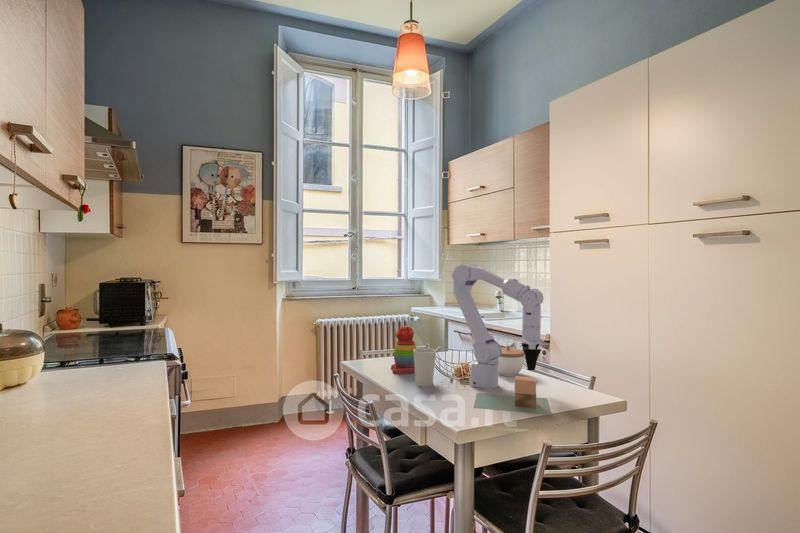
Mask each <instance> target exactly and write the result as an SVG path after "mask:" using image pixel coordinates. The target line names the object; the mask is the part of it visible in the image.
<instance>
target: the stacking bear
mask: <svg viewBox="0 0 800 533" xmlns="http://www.w3.org/2000/svg"><path fill="white" fill-rule="evenodd" d="M414 336H415V332H414V329H413V327H411V326H407V325H403V326H401V327H399V329H397V331H396V332H395V337H396V339H397V341H396V343H395V346H394V351H393V360H394V363H393V364H391V367H390V369H391V370H392V373H393V374H396V375H406V374H412V373H414V374H415V366H414V351H413V350H414V349H418V347H417V344H416V343H415V341H414V340H413V339H414Z"/></svg>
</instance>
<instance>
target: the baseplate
mask: <svg viewBox="0 0 800 533" xmlns="http://www.w3.org/2000/svg"><path fill="white" fill-rule="evenodd" d="M473 408H474V409H482V410H493V411H502V412H503V411H504V412H515V413H525V414H526V413H527V414H535V415H545V416H546V415H548V416H551V415H553V414H552V411H551V408H550V404H549V401H548V398H546V397H537V396H536V408H527V407H516V406H515V395H512V394H501V393H500V394H498V393H487V392H476V395H475V399H474V404H473Z"/></svg>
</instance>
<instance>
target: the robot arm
mask: <svg viewBox="0 0 800 533" xmlns="http://www.w3.org/2000/svg"><path fill="white" fill-rule="evenodd" d="M451 277H452V280H453V294H454V297H455V299H456V301H457V304H458V307H459V308H460V310H461V313H462V315H463V318H464V319H465V322H466V324H467V326H468V328H469V330H470V332H471V335H472V337H473V341H472V347H473V350H474V351H473V354H474V355H473V356H474V358H475V359H476V360H472V361H471V365H470V366H471V367H470V387H472V388H473V387H474V388H475V387H476V388H483V389H496V388H498V387H499V374H498V357H500V355H501V352H502V349H501V348H502V347H501V345H500V343H499V342H497V340H496V339H495V337H494V335H492V334H491V333H489V331H488V330H487V327H486V325H485V322H484V321H483V318H482V316H481V314H480V311H479V310H478V307H477V305H476V303H475V300H474V299H473V296H472V294H471V291H472V288H473V286H474V285H475V283H477V282H478V281H479V280H480V281H483V282H486V283H488V284H490V285H492V286H495V287H497V288H499V289H501V292H502V294H503V295H505V296H507V297H509V298H510V299H511V298H512V300H515V301H517V302H518V303H520V304H521V305H522V331H521V332H522V334H521V346H522V350H523V351H524V353H525V355H524V359H525V363H526V367H527V371H535V370H536V366H537V362H538V358H539V357H540V356H539V355H540V353H541V351H542V349H540V348H539V346H540V344H541V343H542V344H543V343H545V340H544V339H543V338H542V339H541V326H542V324H541V323H542V322H541V318H542V316H541V315H542V311H541V306H542V305H541V304H543V302H544V294H543V293H542V292H541V290H539V289H538V288H531V285H525V284H524V283H521V282H519V279H517V278H508V279H504V278H503V277H500V276H498V275H497V274H495V273H493V272H491V271H490V270H487V269H486V268H485V267H482V266H479V265H477V264H464V263H463V264H462V263H461V264H457V265H456V266H455V267H454V269H453V271H452V274H451Z"/></svg>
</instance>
